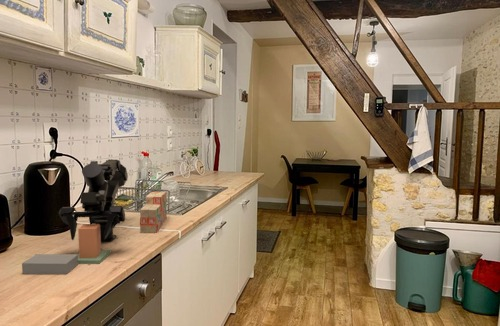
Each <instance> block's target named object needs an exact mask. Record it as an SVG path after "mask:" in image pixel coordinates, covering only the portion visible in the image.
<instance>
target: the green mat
mask: <svg viewBox="0 0 500 326" xmlns="http://www.w3.org/2000/svg"><path fill="white" fill-rule="evenodd" d="M111 252H112V251H111V249H101V252H100V254H99V255H98V257H97V258H79V252H77V253H76V254H78V265H81V264H82V265H83V264H84V265H86V264H87V265H88V264H90V265H91V264H93V265H94V264H95V265H97V264H98V265H99V264H101V263H102V262H103V261H104V260H105V259H106V258H107V257H108V256H109V255H110V254H111Z"/></svg>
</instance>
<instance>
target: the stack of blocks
mask: <svg viewBox="0 0 500 326" xmlns="http://www.w3.org/2000/svg"><path fill="white" fill-rule="evenodd" d="M167 212H168V211H167V191H150V193H148V194H147V195H146V196H145V204H144V205H143V206H142V207H141V208H140V210H139V213H140V215H139V227H140V228H139V233H140V234H157V232H158V231H159V230H160V228H162V225H164V223H165V221H166V220H167ZM163 222H164V223H163Z"/></svg>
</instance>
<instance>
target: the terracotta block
mask: <svg viewBox="0 0 500 326" xmlns="http://www.w3.org/2000/svg"><path fill="white" fill-rule="evenodd" d="M77 231H78V234H77V235H78V253H79V258H97V257H98V255H99V254H100V252H101V250H102V244H101V243H102V242H101V234H100V224H90V223H88V224H86V223H85V224H82V225H80V227H79V228H77Z"/></svg>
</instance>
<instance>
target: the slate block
mask: <svg viewBox="0 0 500 326" xmlns="http://www.w3.org/2000/svg"><path fill="white" fill-rule="evenodd" d="M78 265H79V264H78V254H77V253H76V254H75V253H74V254H71V253H70V254H69V253H68V254H64V253H63V254H61V253H57V254H56V253H55V254H54V253H49V254H48V253H45V254H44V253H42V254H41V253H36V254H34V255H33V256H31V257H30V258H28V259H27V260H25V261H24V262H22V263H21V268H22V269H21V270H22V275H29V274H30V275H68V274H69V273H70V272H71V271H73V269H74V268H76V267H77V266H78Z"/></svg>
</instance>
